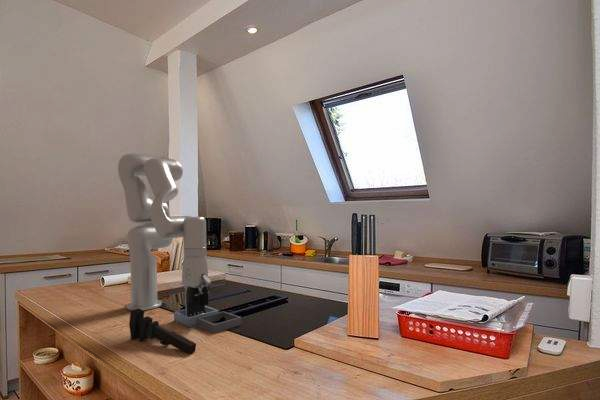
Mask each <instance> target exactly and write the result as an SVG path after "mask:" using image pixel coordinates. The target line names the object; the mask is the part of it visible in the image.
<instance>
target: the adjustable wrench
mask: <svg viewBox="0 0 600 400" xmlns="http://www.w3.org/2000/svg"><path fill="white" fill-rule="evenodd" d="M129 315H130V316H129V326H128V327H129V332H130V333H129V335H130V340H131V341H134V340H138V342H143V341H146V340H154V339H156V340H158V341H159V344H161V345H162V346H165V347H168V346H173V348H176V349H177V350H179V351H181V352H183V354H186V355H191V354H194V353H196V347H197V343H196V342H194V341H192V340H190V339H188V338H186V337H185V336H182V335H180V334H179V333H177V332H175V331H170V330H168V329H166V328H164V327H163V326H160V325H159V323H160V322H159V321H158V320H154V321H153V319H154V318H152V317H151V316H149V315H147V316H145V310H141V309H139V308H138V309H135V310H130V314H129Z"/></svg>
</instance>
